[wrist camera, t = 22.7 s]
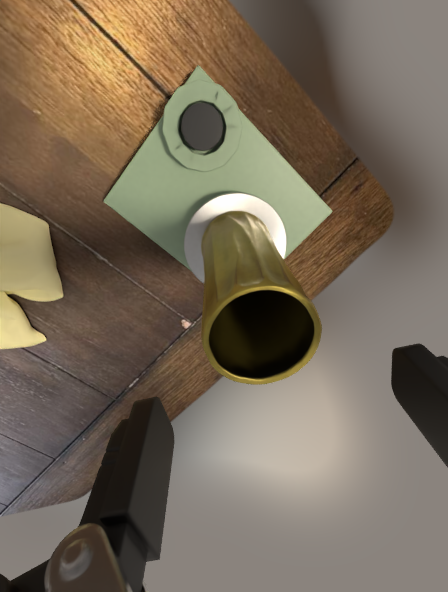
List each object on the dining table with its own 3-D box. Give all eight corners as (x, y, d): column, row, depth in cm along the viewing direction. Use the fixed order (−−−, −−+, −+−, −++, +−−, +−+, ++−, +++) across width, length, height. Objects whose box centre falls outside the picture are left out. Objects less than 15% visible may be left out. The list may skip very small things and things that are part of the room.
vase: (195, 271, 26) (180, 382, 13) (209, 202, 24) (208, 259, 11) (259, 284, 27) (303, 401, 14) (280, 219, 25) (356, 290, 12)
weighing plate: (163, 249, 26) (162, 251, 25) (232, 167, 23) (232, 167, 23) (237, 307, 29) (237, 310, 28) (305, 240, 26) (307, 242, 26)
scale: (109, 198, 27) (96, 204, 24) (199, 71, 23) (197, 57, 20) (234, 298, 32) (237, 314, 29) (325, 208, 28) (340, 214, 25)
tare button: (174, 130, 22) (172, 129, 21) (200, 95, 21) (199, 91, 20) (204, 159, 23) (204, 159, 22) (230, 127, 22) (231, 125, 21)
